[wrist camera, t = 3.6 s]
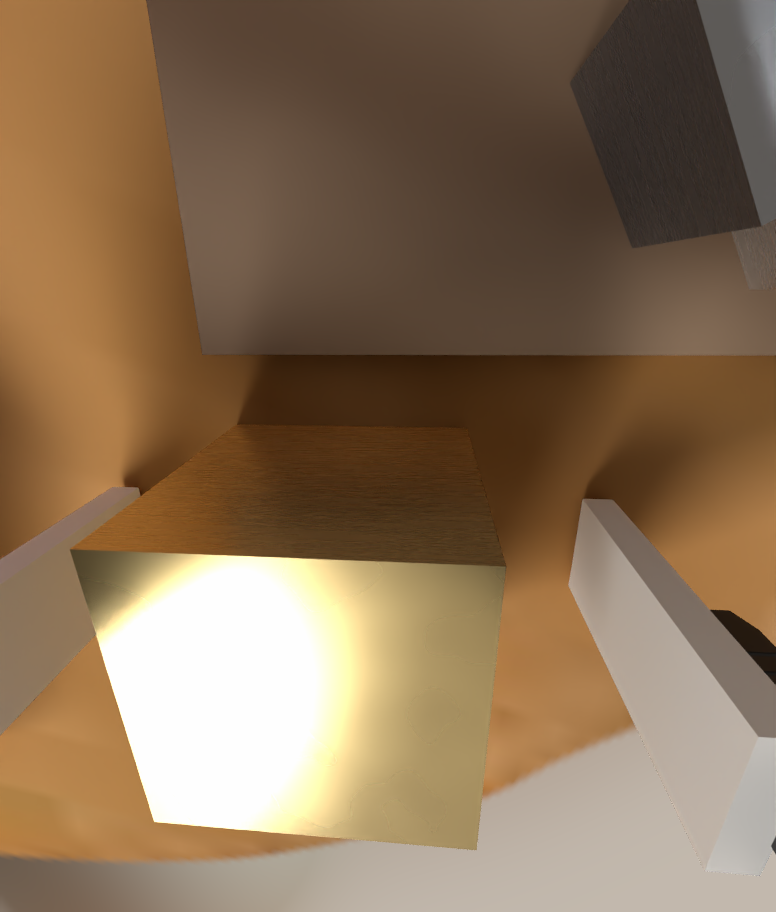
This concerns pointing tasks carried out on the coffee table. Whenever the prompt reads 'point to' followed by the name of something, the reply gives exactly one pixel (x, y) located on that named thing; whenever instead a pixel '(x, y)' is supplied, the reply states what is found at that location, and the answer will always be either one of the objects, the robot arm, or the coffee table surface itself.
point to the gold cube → (307, 632)
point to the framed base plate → (419, 188)
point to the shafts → (689, 123)
